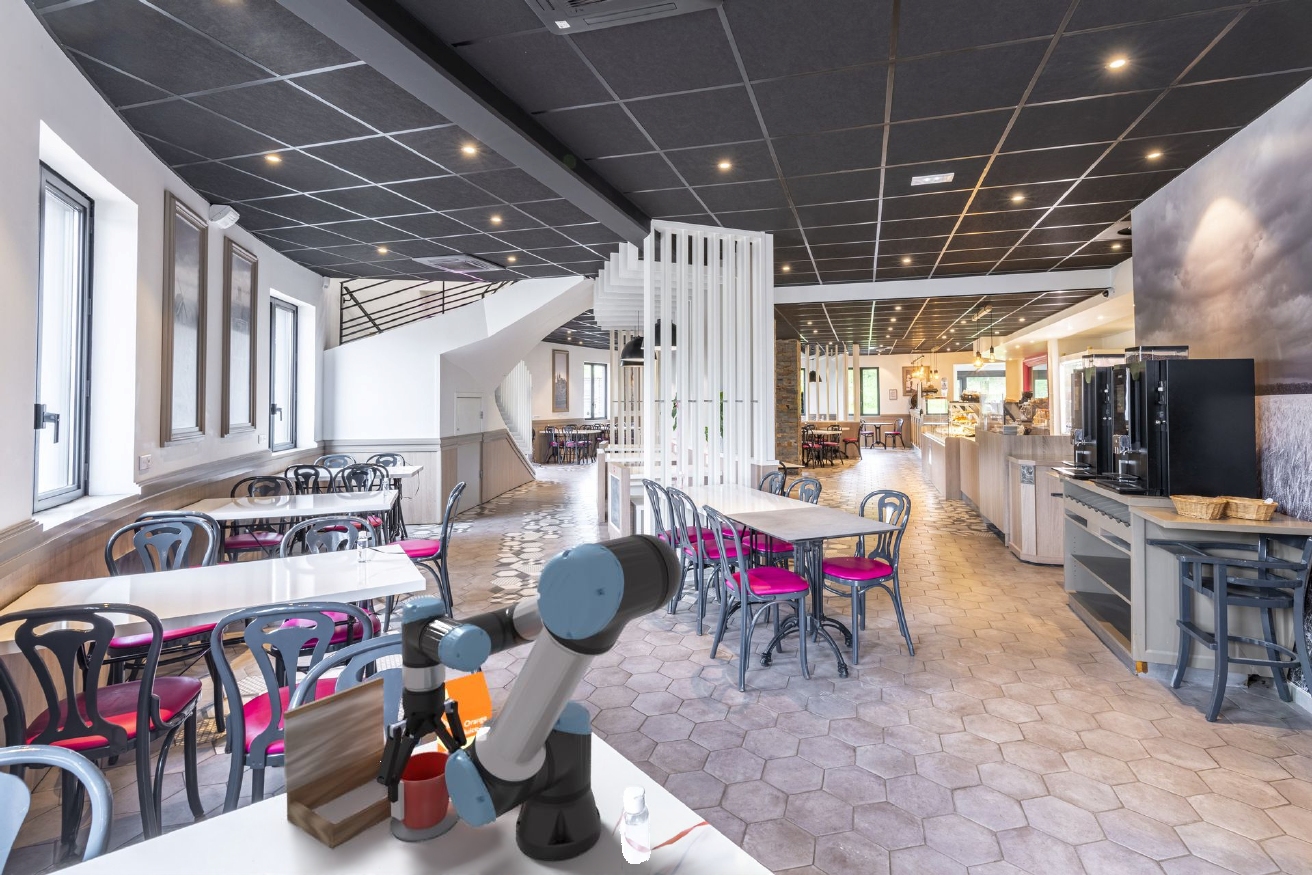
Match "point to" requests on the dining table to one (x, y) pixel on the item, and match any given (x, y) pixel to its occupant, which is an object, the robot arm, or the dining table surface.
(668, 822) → the dining table surface
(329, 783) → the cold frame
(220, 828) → the dining table surface
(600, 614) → the robot arm
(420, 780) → the flower pot
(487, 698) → the orange juice
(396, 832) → the slate saucer
